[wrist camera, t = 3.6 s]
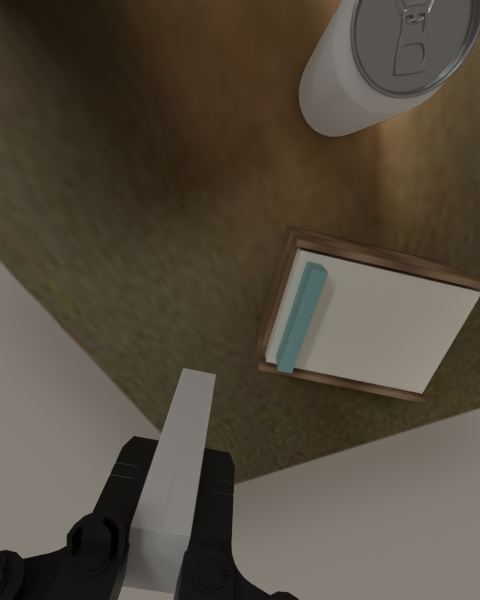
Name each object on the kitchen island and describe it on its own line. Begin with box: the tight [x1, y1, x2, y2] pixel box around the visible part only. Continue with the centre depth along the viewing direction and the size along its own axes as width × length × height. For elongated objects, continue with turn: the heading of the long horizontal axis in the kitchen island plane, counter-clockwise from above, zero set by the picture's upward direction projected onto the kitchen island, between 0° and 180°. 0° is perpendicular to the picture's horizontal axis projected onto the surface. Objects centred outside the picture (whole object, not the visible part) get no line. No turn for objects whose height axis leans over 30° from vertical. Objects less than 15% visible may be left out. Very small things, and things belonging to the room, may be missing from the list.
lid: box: [265, 247, 480, 394], centre depth 25 cm, size 15×10×3 cm
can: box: [299, 0, 480, 137], centre depth 18 cm, size 6×6×12 cm
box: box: [256, 226, 480, 403], centre depth 28 cm, size 16×12×6 cm
